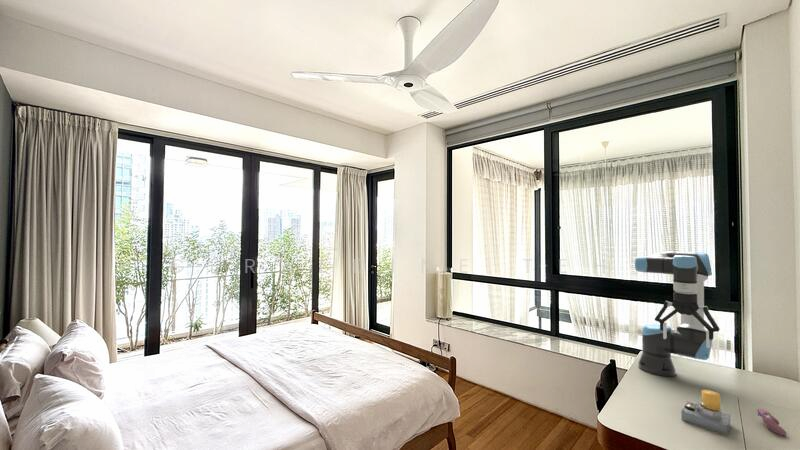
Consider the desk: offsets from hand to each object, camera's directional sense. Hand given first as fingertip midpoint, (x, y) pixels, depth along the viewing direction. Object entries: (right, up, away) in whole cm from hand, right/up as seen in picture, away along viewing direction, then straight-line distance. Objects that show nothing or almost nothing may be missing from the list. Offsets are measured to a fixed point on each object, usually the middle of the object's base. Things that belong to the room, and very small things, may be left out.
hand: (685, 342), depth 134 cm
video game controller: (+16, -25, -17) cm, 34 cm away
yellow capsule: (-5, -21, -16) cm, 27 cm away
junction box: (-6, -25, -14) cm, 29 cm away
